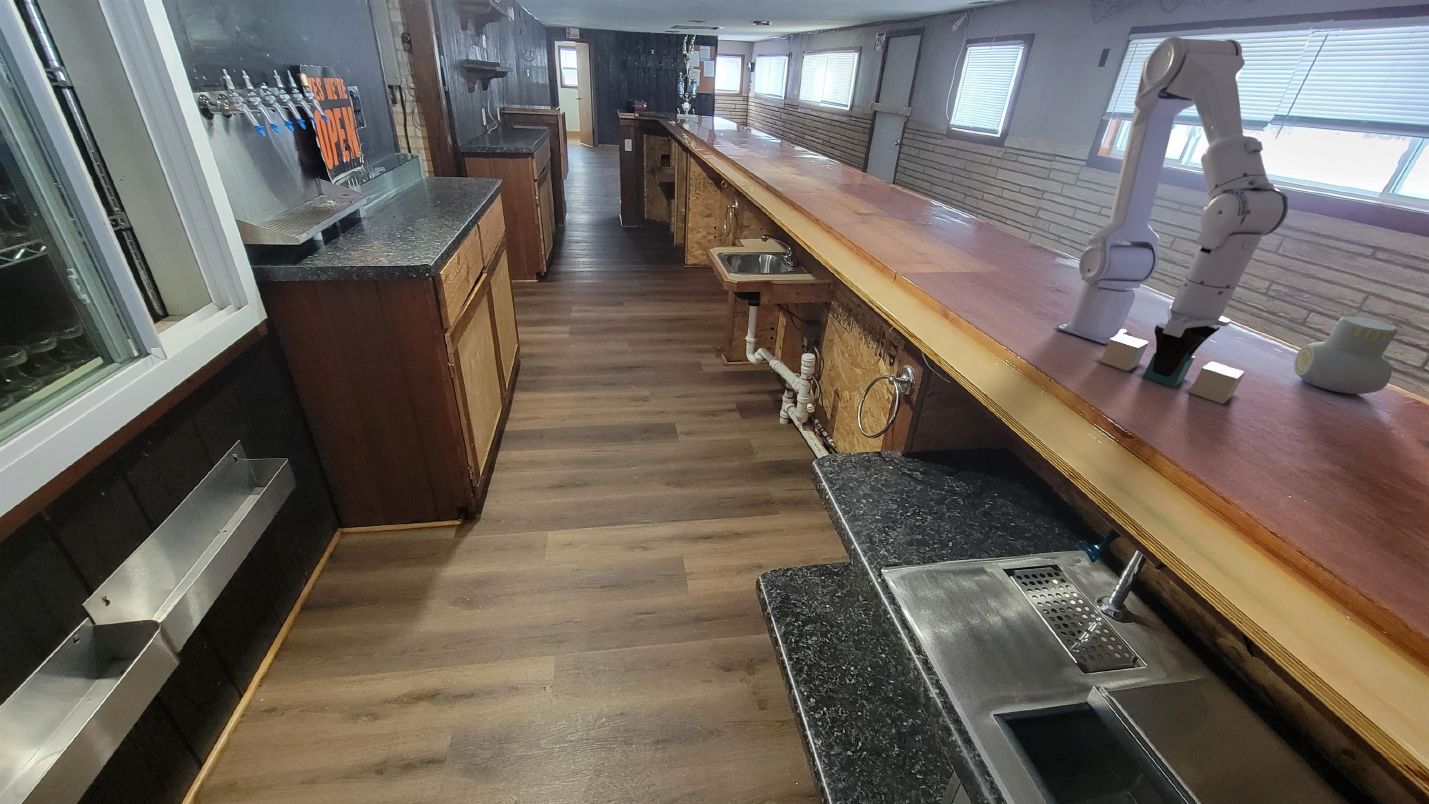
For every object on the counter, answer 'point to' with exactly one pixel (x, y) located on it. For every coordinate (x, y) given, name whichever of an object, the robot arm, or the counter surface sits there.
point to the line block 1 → (1124, 352)
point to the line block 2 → (1217, 382)
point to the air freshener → (1348, 357)
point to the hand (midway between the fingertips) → (1166, 370)
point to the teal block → (1175, 376)
